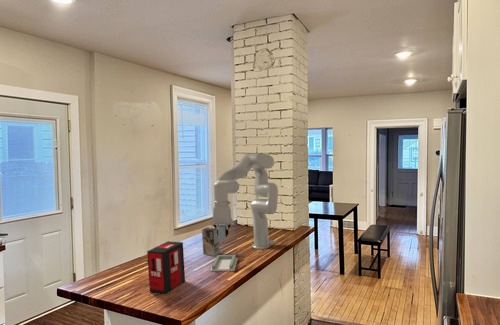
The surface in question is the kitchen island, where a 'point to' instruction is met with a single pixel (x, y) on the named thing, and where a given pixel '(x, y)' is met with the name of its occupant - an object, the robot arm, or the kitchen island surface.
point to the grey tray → (224, 263)
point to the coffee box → (210, 242)
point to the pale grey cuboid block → (222, 232)
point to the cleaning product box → (166, 267)
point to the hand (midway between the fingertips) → (222, 235)
